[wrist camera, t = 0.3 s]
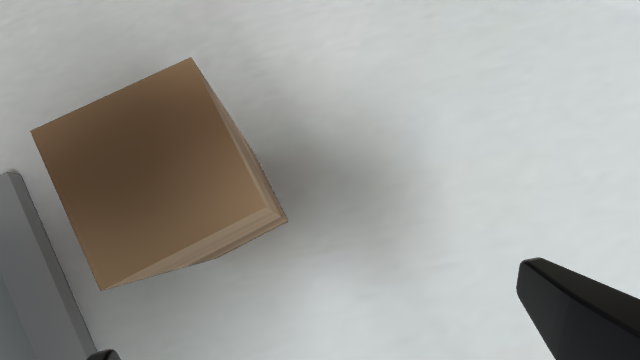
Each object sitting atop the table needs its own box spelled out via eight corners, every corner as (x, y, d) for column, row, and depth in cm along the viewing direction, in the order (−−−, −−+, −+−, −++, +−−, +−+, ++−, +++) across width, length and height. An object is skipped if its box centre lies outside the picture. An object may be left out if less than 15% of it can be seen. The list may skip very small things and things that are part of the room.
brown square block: (288, 221, 22) (265, 207, 10) (216, 258, 22) (100, 291, 10) (253, 152, 23) (190, 57, 10) (182, 187, 22) (30, 130, 10)
